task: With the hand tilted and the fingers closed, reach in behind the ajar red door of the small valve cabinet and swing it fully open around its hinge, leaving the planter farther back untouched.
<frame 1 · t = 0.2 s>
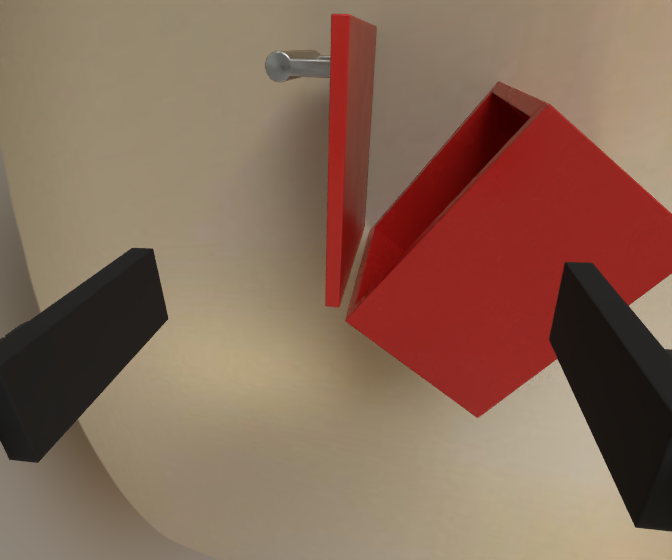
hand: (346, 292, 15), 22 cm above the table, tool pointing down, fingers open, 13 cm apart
door: (323, 151, 28), point 7 cm above the table, hinge at 35.0°
valve cabinet: (475, 201, 35), on the table
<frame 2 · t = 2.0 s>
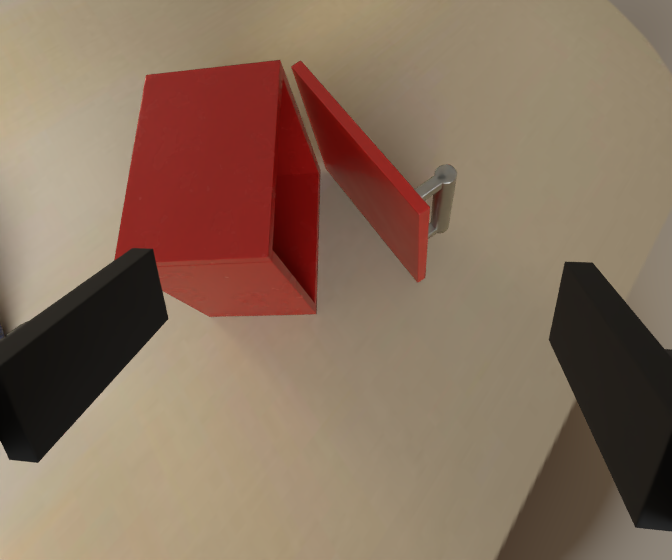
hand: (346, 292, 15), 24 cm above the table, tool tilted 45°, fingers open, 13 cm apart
door: (385, 169, 35), point 7 cm above the table, hinge at 35.0°
valve cabinet: (268, 241, 43), on the table
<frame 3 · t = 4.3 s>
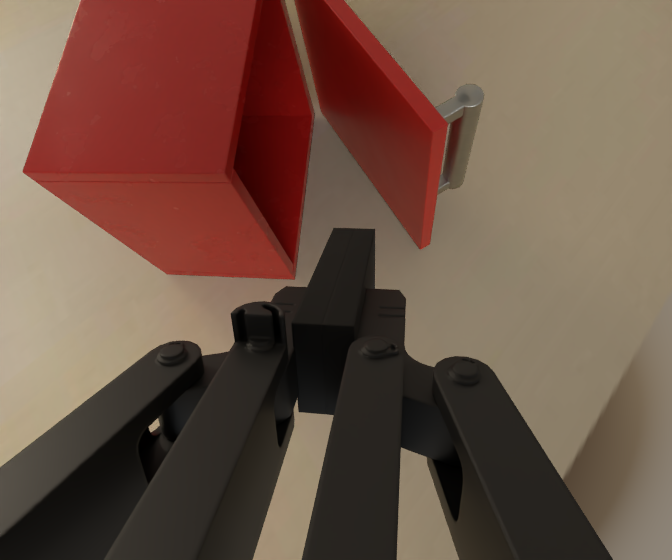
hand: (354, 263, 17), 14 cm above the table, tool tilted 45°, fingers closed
door: (391, 100, 28), point 7 cm above the table, hinge at 35.0°
valve cabinet: (245, 190, 36), on the table
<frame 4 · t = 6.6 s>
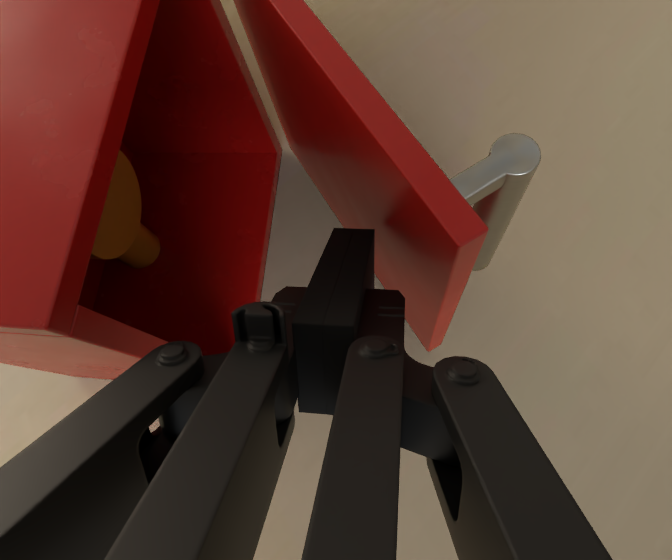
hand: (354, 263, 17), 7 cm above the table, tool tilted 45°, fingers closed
door: (383, 146, 19), point 7 cm above the table, hinge at 35.7°, touching gripper
valve cabinet: (185, 257, 26), on the table
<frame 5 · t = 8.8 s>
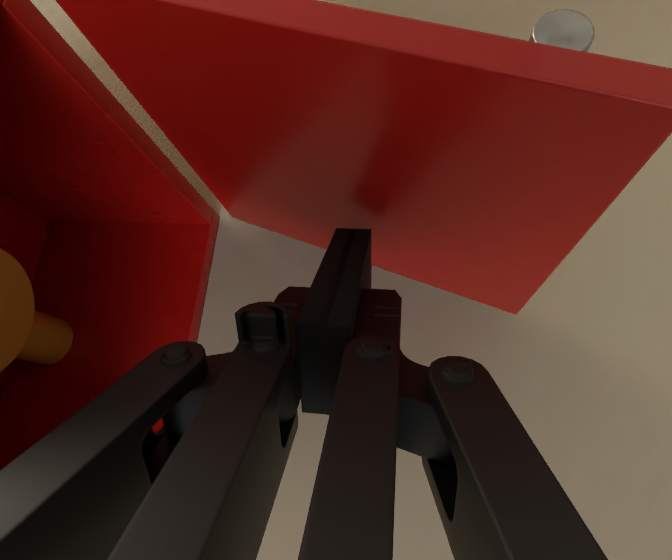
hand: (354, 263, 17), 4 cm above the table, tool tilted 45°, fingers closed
door: (367, 135, 16), point 7 cm above the table, hinge at 72.2°, touching gripper
valve cabinet: (104, 347, 22), on the table
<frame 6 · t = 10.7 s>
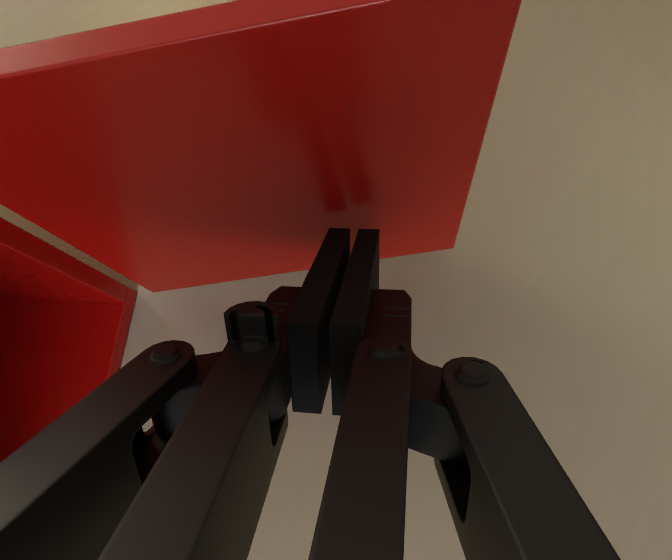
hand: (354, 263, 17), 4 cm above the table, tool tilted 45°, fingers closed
door: (253, 145, 16), point 7 cm above the table, hinge at 101.1°, touching gripper
valve cabinet: (8, 435, 21), on the table
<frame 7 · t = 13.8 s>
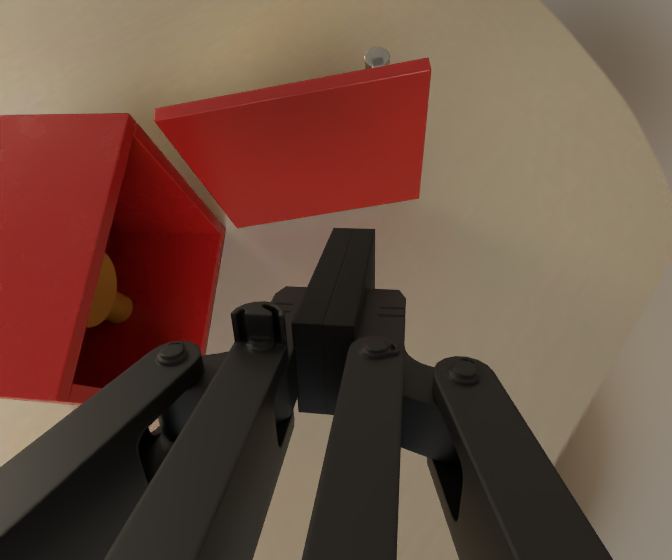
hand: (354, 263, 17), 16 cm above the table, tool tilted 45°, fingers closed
door: (308, 137, 30), point 7 cm above the table, hinge at 101.3°
valve cabinet: (152, 313, 35), on the table
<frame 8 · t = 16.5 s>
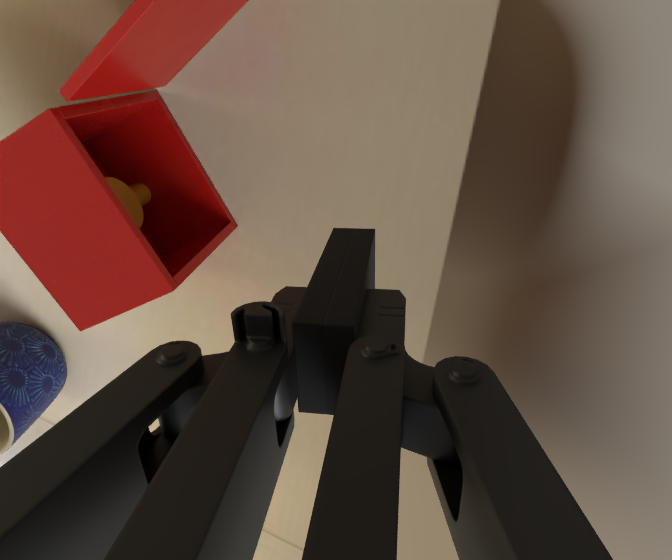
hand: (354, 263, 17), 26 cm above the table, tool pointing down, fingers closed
planter: (33, 353, 59), on the table
valve cabinet: (162, 182, 45), on the table
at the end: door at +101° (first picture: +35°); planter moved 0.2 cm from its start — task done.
